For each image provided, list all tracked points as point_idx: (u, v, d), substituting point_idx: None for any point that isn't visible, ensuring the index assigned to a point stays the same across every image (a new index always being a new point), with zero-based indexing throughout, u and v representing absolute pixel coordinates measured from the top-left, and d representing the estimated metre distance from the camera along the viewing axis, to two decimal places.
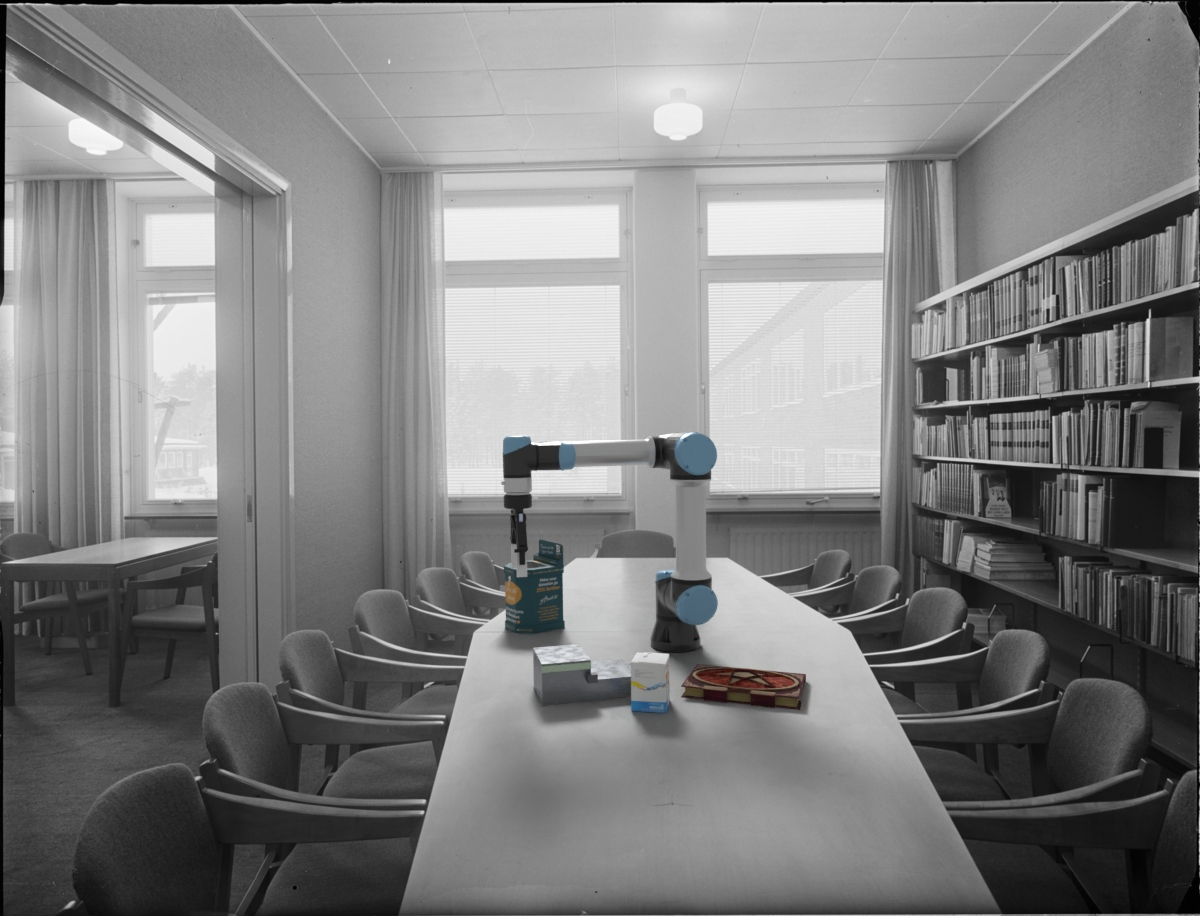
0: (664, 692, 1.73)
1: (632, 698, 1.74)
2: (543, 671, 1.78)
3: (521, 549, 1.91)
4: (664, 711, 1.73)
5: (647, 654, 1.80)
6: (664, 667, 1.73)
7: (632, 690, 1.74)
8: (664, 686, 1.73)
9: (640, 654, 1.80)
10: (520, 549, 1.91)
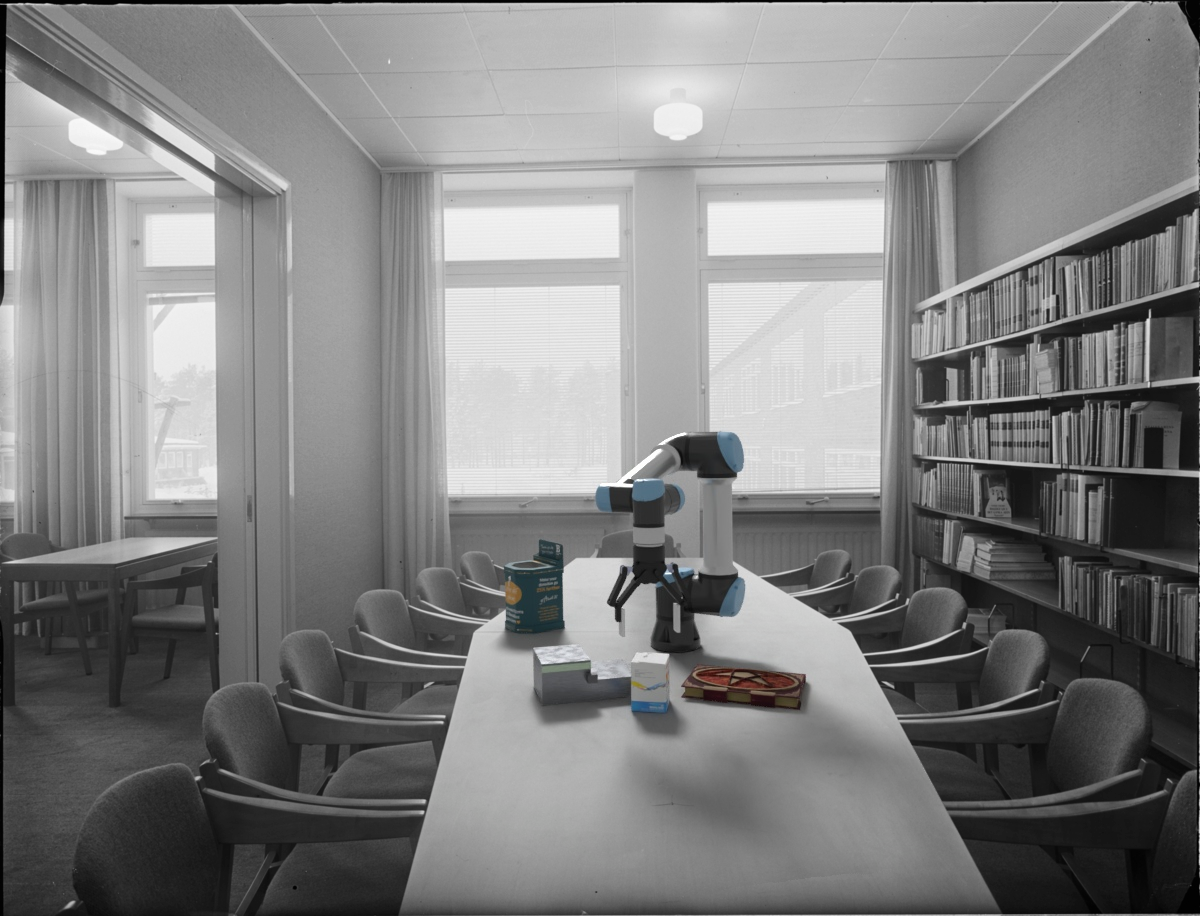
0: (664, 692, 1.73)
1: (632, 698, 1.74)
2: (543, 671, 1.78)
3: (607, 603, 1.75)
4: (664, 711, 1.73)
5: (647, 654, 1.80)
6: (664, 667, 1.73)
7: (632, 690, 1.74)
8: (664, 686, 1.73)
9: (640, 654, 1.80)
10: (607, 603, 1.75)
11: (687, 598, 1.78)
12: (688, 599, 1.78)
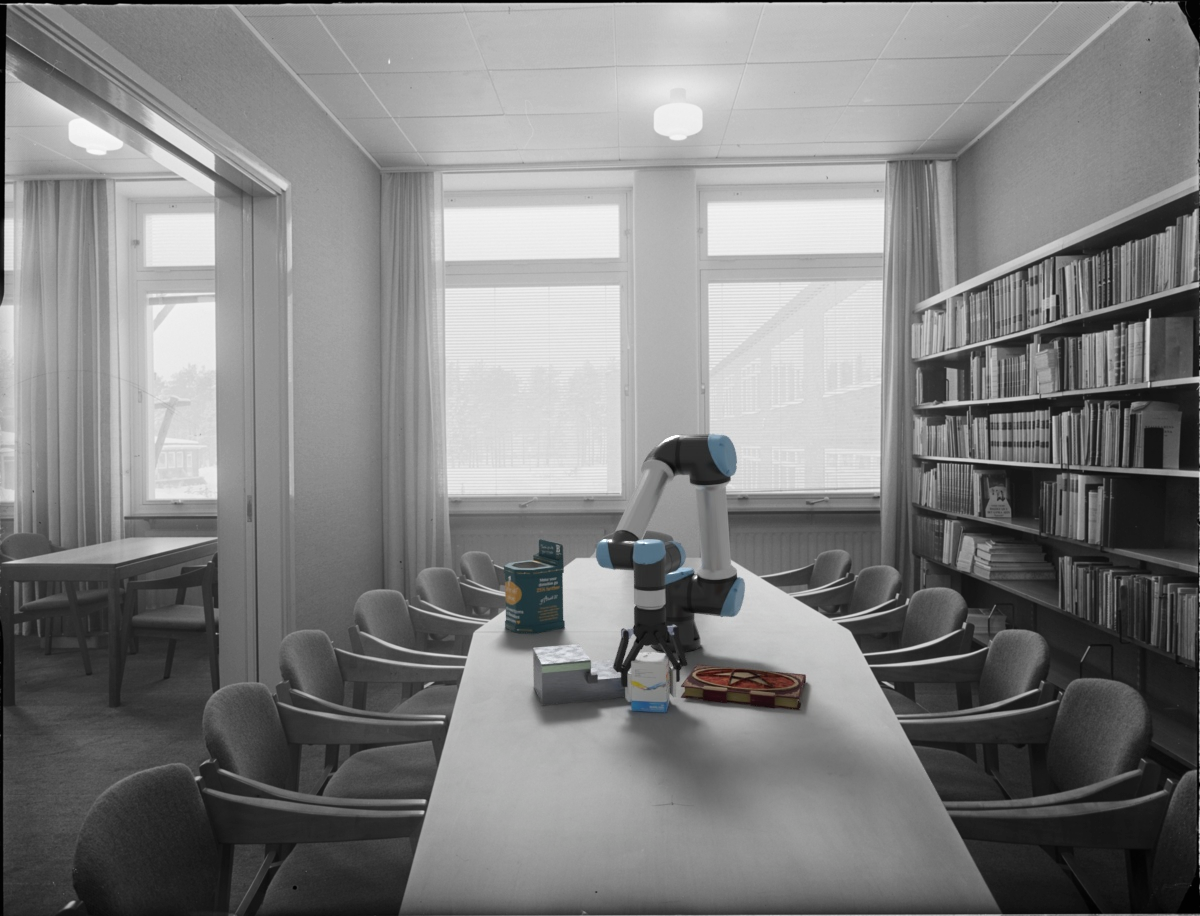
0: (664, 692, 1.73)
1: (632, 698, 1.74)
2: (543, 671, 1.78)
3: (614, 668, 1.76)
4: (664, 711, 1.73)
5: (647, 654, 1.80)
6: (664, 667, 1.73)
7: (632, 690, 1.74)
8: (664, 686, 1.73)
9: (640, 654, 1.80)
10: (614, 668, 1.76)
11: (683, 662, 1.78)
12: (684, 663, 1.78)
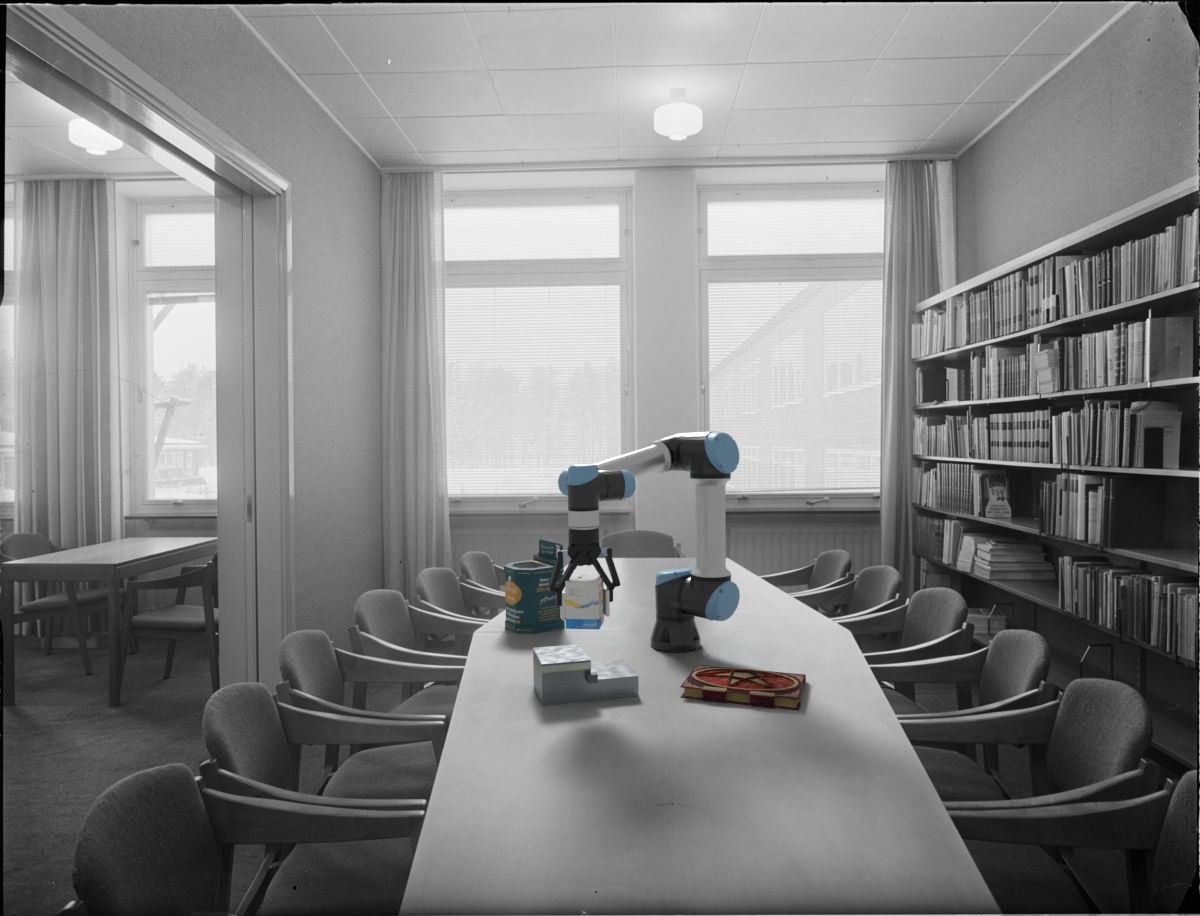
0: (597, 609, 1.78)
1: (566, 616, 1.80)
2: (543, 671, 1.78)
3: (549, 588, 1.81)
4: (597, 628, 1.79)
5: (582, 576, 1.85)
6: (597, 585, 1.78)
7: (566, 608, 1.80)
8: (597, 603, 1.78)
9: (575, 576, 1.86)
10: (548, 587, 1.81)
11: (616, 583, 1.84)
12: (617, 584, 1.84)
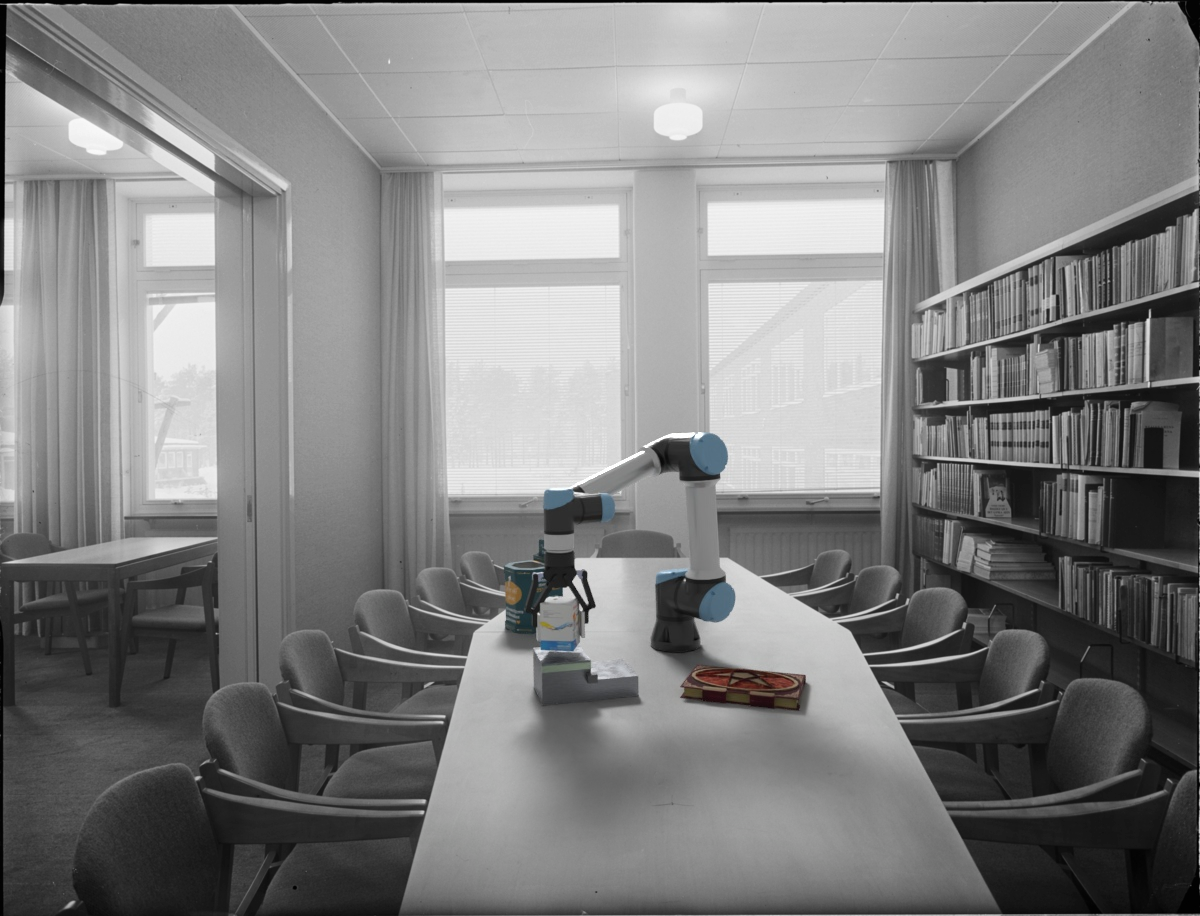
0: (571, 631, 1.81)
1: (541, 638, 1.83)
2: (543, 671, 1.78)
3: (524, 609, 1.84)
4: (571, 649, 1.82)
5: (558, 597, 1.88)
6: (571, 607, 1.81)
7: (541, 630, 1.83)
8: (571, 626, 1.81)
9: (551, 598, 1.89)
10: (524, 609, 1.85)
11: (592, 605, 1.87)
12: (592, 606, 1.87)
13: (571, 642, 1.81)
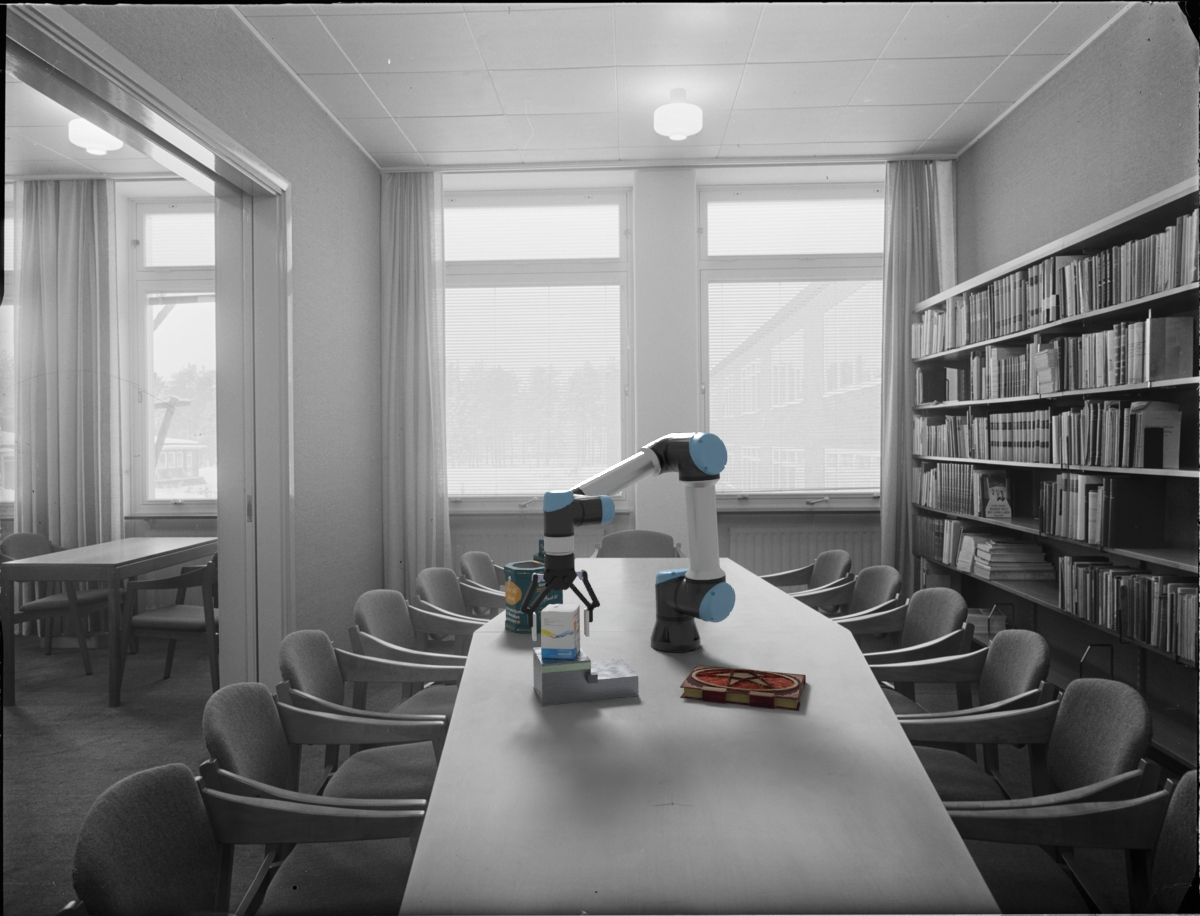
0: (572, 639, 1.82)
1: (542, 646, 1.83)
2: (543, 671, 1.78)
3: (520, 609, 1.84)
4: (572, 657, 1.82)
5: (558, 605, 1.88)
6: (572, 615, 1.81)
7: (542, 638, 1.83)
8: (572, 633, 1.82)
9: (552, 605, 1.89)
10: (520, 609, 1.84)
11: (596, 604, 1.87)
12: (597, 605, 1.87)
13: (572, 650, 1.82)
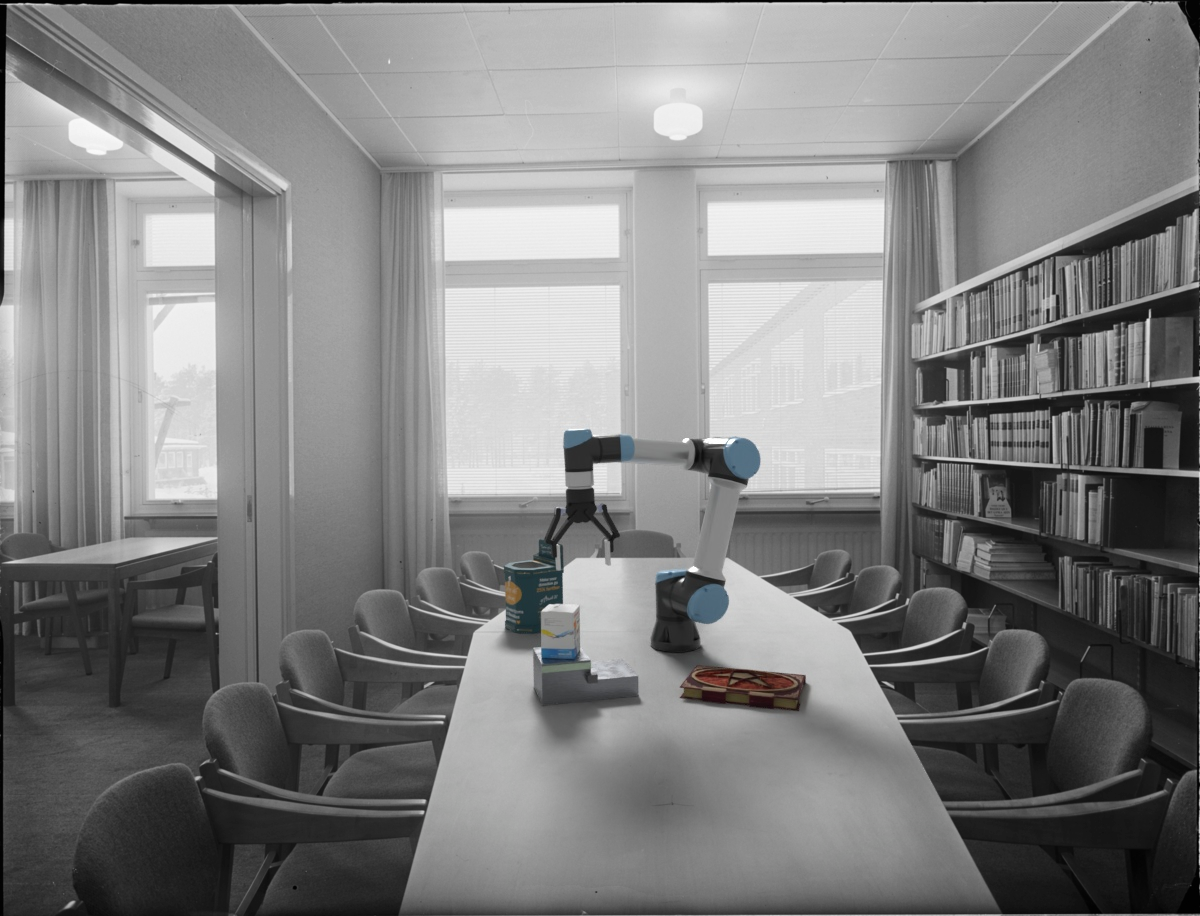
0: (572, 639, 1.82)
1: (542, 646, 1.83)
2: (543, 671, 1.78)
3: (544, 541, 1.95)
4: (572, 657, 1.82)
5: (558, 605, 1.88)
6: (572, 615, 1.81)
7: (542, 638, 1.83)
8: (572, 633, 1.82)
9: (552, 605, 1.89)
10: (544, 541, 1.95)
11: (616, 534, 1.99)
12: (617, 535, 1.99)
13: (572, 650, 1.82)
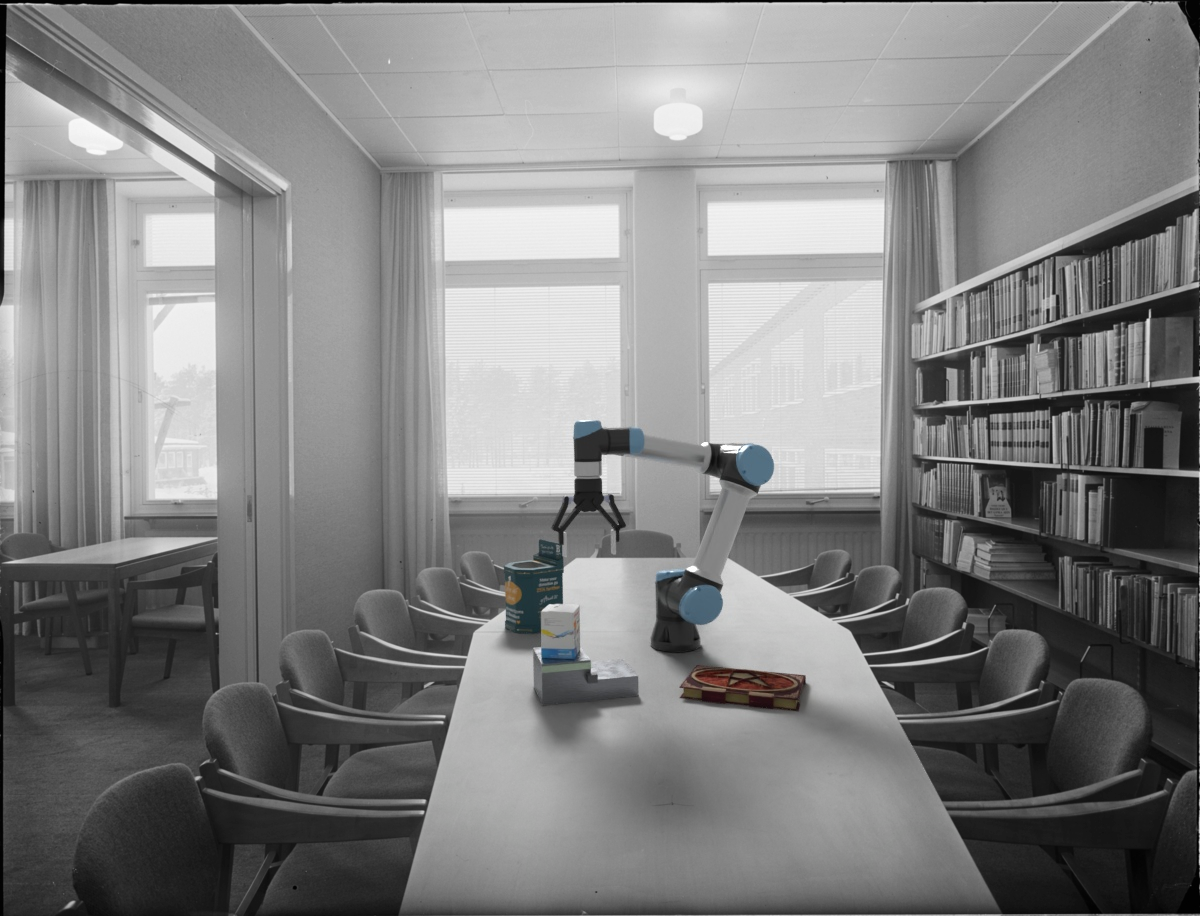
0: (572, 639, 1.82)
1: (542, 646, 1.83)
2: (543, 671, 1.78)
3: (552, 528, 2.00)
4: (572, 657, 1.82)
5: (558, 605, 1.88)
6: (572, 615, 1.81)
7: (542, 638, 1.83)
8: (572, 633, 1.82)
9: (552, 605, 1.89)
10: (552, 528, 2.01)
11: (622, 525, 2.03)
12: (623, 525, 2.04)
13: (572, 650, 1.82)
